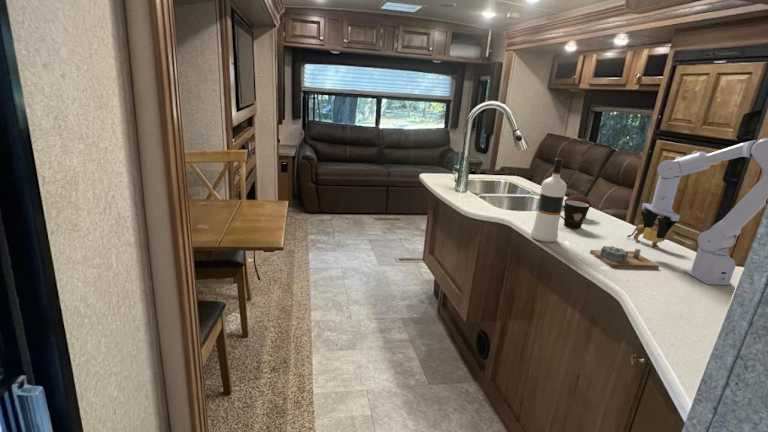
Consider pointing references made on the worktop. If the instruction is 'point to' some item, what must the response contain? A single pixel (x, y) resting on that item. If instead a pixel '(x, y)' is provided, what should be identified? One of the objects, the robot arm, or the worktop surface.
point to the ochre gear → (651, 234)
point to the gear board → (623, 258)
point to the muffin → (578, 198)
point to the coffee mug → (574, 214)
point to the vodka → (550, 206)
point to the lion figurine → (641, 231)
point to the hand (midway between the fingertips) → (653, 234)
